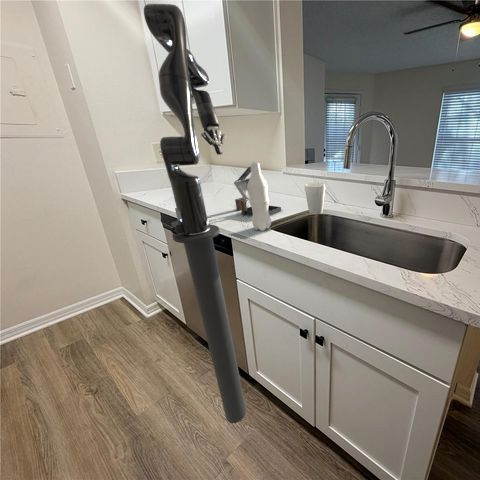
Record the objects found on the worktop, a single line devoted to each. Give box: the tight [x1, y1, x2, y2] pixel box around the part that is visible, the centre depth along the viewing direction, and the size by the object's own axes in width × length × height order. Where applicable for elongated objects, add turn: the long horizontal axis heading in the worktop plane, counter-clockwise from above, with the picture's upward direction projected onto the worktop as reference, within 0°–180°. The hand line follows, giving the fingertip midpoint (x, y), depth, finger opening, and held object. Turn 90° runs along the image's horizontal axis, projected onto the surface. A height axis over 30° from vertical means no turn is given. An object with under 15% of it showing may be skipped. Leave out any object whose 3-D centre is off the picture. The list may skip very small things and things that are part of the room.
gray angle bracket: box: [233, 166, 251, 204], centre depth 120 cm, size 12×12×11 cm
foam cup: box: [304, 182, 326, 216], centre depth 119 cm, size 10×9×13 cm
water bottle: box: [248, 162, 272, 232], centre depth 98 cm, size 7×7×25 cm
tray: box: [240, 205, 282, 217], centre depth 123 cm, size 14×12×2 cm
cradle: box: [234, 196, 248, 216], centre depth 126 cm, size 10×15×7 cm
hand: (219, 154), depth 121 cm, fingers closed
